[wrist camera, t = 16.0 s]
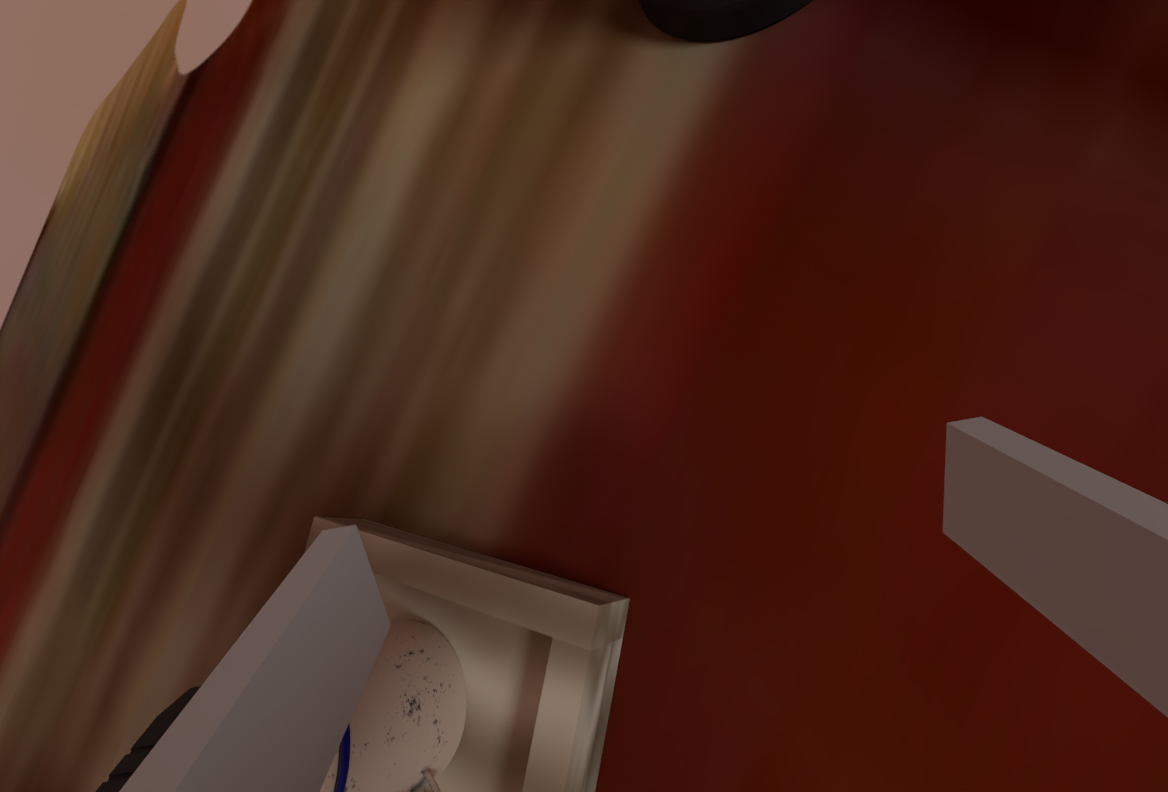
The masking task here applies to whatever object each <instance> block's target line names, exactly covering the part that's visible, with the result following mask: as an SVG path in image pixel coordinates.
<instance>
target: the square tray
mask: <svg viewBox="0 0 1168 792" xmlns="http://www.w3.org/2000/svg"><path fill="white" fill-rule="evenodd" d="M351 525H356V526H357V529H358V532H359V535H360V537H361V540H362V543H363V546H364V549H365V552H366V555H367V558H368V561H369V563H370V566H371V569H372V572H373V575H374V578H375V581H376V584H377V586H378V589H379V592H380V595H381V598H382V601H383V604H384V607H385V610H386V612H387V615H388V618H389V621H391V620H397V619H415V620H420V621H422V622H425V623H427V624H429V625H431V626H432V627H434V628H435V629H436V630H438V631H439V632H440V633H441V634H442V635H443V636H444V637H445V638H446V640H447V641H448V642H449V643H450V645H451V647H452V648H453V650H454V652H455V654H456V656H457V658H458V660H459V663H460V665H461V668H462V672H463V676H464V680H465V686H466V696H467V708H466V719H465V725H464V730H463V734H462V737H461V741H460V743H459V746H458V748H457V750H456V752H455V754H454V756H453V758H452V760H451V761H450V763H449V764H448V766H447V767H446V768H445V769H444V771H443V772H442V773H441V774H440V775H439V776H438V777H436V778H435V781H436V783H437V784H438V786H439V788H440V791H441V792H595V789H596V784H597V778H598V772H599V767H600V761H601V756H602V750H603V745H604V739H605V734H606V728H607V723H608V717H609V711H610V706H611V700H612V695H613V689H614V684H615V678H616V673H617V667H618V661H619V656H620V650H621V645H622V639H623V634H624V628H625V623H626V617H627V612H628V606H629V600H630V598H628V597H625V596H621V595H618V594H615V593H611V592H608V591H604V590H601V589H598V588H594V587H591V586H588V585H584V584H581V583H578V582H574V581H571V580H567V579H564V578H561V577H557V576H554V575H551V574H547V573H544V572H541V571H537V570H534V569H531V568H527V567H524V566H520V565H517V564H514V563H510V562H507V561H504V560H500V559H497V558H494V557H490V556H487V555H483V554H480V553H477V552H473V551H470V550H467V549H463V548H460V547H457V546H453V545H450V544H446V543H443V542H440V541H436V540H433V539H430V538H426V537H423V536H420V535H416V534H413V533H410V532H406V531H403V530H399V529H396V528H393V527H389V526H386V525H383V524H379V523H376V522H373V521H369V520H366V519H355V518H335V517H315V516H314V519H313V523H312V527H311V530H310V534H309V537H308V541H307V545H306V548H305V552H306V551H307V550H308V548H309V547H310V546H311V544H312V543H313V542H314V541H315V539H316V538H317V537H318V535H319V534H320V533H321V532H322V530H328V529H334V528H340V527H345V526H351ZM305 552H304V553H305Z"/></svg>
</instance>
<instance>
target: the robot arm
mask: <svg viewBox="0 0 1168 792" xmlns="http://www.w3.org/2000/svg"><path fill="white" fill-rule="evenodd" d="M810 1H811V0H639V2H640V4H641V7H642V9H643V11H644V13H645V14H646V16H647V17H648V19H649V20H650V21H651V22H652V23H653V24H654V25H655V26H657V27H658V28H659V29H661V30H662V31H664V32H666V33H668V34H670V35H673V36H676V37H679V38H683V39H688V40H700V41H708V40H720V39H726V38H732V37H736V36H740V35H744V34H747V33H750V32H753V31H756V30H759V29H761V28H764V27H766V26H768V25H771V24H773V23H775V22H777V21H779V20H781V19H783V18H785V17H786V16H788V15H790V14H792V13H793V12H795V11H797V10H798V9H800V8H801V7H803V6H804V5H806V4H807V3H808V2H810ZM943 533H945V534H946V535H947V536H948V537H949V538H951V539H952V540H953V541H954V542H955V543H957V544H958V545H959V546H960V547H962V548H963V549H964V550H965V551H966V552H968V553H969V554H970V555H971V556H972V557H974V558H975V559H976V560H977V561H979V562H980V563H981V564H982V565H983V566H985V567H986V568H987V569H988V570H989V571H991V572H992V573H993V574H994V575H996V576H997V577H998V578H999V579H1000V580H1002V581H1003V582H1004V583H1005V584H1006V585H1008V586H1009V587H1010V588H1011V589H1013V590H1014V591H1015V592H1016V593H1017V594H1019V595H1020V596H1021V597H1022V598H1023V599H1025V600H1026V601H1027V602H1028V603H1030V604H1031V605H1032V606H1033V607H1034V608H1036V609H1037V610H1038V611H1039V612H1040V613H1042V614H1043V615H1044V616H1045V617H1047V618H1048V619H1049V620H1050V621H1051V622H1053V623H1054V624H1055V625H1056V626H1057V627H1059V628H1060V629H1061V630H1062V631H1064V632H1065V633H1066V634H1067V635H1068V636H1070V637H1071V638H1072V639H1073V640H1074V641H1076V642H1077V643H1078V644H1079V645H1081V646H1082V647H1083V648H1084V649H1085V650H1087V651H1088V652H1089V653H1090V654H1091V655H1093V656H1094V657H1095V658H1096V659H1098V660H1099V661H1100V662H1101V663H1102V664H1104V665H1105V666H1106V667H1107V668H1108V669H1110V670H1111V671H1112V672H1113V673H1115V674H1116V675H1117V676H1118V677H1119V678H1121V679H1122V680H1123V681H1124V682H1125V683H1127V684H1128V685H1129V686H1130V687H1132V688H1133V689H1134V690H1135V691H1136V692H1138V693H1139V694H1140V695H1141V696H1142V697H1144V698H1145V699H1146V700H1147V701H1149V702H1150V703H1151V704H1152V705H1153V706H1155V707H1156V708H1157V709H1158V710H1159V711H1161V712H1162V713H1163V714H1164V715H1166V716H1167V717H1168V504H1166V503H1164V502H1162V501H1160V500H1158V499H1156V498H1154V497H1152V496H1149V495H1147V494H1145V493H1143V492H1141V491H1139V490H1137V489H1135V488H1132V487H1130V486H1128V485H1126V484H1124V483H1122V482H1120V481H1118V480H1115V479H1113V478H1111V477H1109V476H1107V475H1105V474H1103V473H1101V472H1098V471H1096V470H1094V469H1092V468H1090V467H1088V466H1086V465H1084V464H1081V463H1079V462H1077V461H1075V460H1073V459H1071V458H1069V457H1067V456H1064V455H1062V454H1060V453H1058V452H1056V451H1054V450H1052V449H1050V448H1047V447H1045V446H1043V445H1041V444H1039V443H1037V442H1035V441H1033V440H1030V439H1028V438H1026V437H1024V436H1022V435H1020V434H1018V433H1015V432H1013V431H1011V430H1009V429H1007V428H1005V427H1003V426H1001V425H998V424H996V423H994V422H992V421H990V420H988V419H986V418H984V417H978V418H972V419H966V420H961V421H955V422H949V423H947V433H946V460H945V486H944V513H943ZM390 626H391V624H390V621H389V618H388V615H387V612H386V610H385V607H384V604H383V601H382V598H381V595H380V592H379V589H378V586H377V584H376V581H375V578H374V575H373V572H372V569H371V566H370V563H369V561H368V558H367V555H366V552H365V549H364V546H363V543H362V540H361V537H360V535H359V532H358V529H357V526H356V525H351V526H345V527H340V528H334V529H328V530H322V532H321V533H320V534H319V535H318V537H317V538H316V539H315V541H314V542H313V543H312V544H311V546H310V547H309V548H308V550H307V551H306V552H305V553H304V555H303V556H302V557H301V559H300V560H299V561H298V562H297V564H296V565H295V566H294V568H293V569H292V570H291V571H290V573H289V574H288V575H287V577H286V578H285V579H284V580H283V582H282V583H281V584H280V586H279V587H278V588H277V589H276V591H275V592H274V593H273V595H272V596H271V597H270V598H269V600H268V601H267V602H266V604H265V605H264V606H263V607H262V609H261V610H260V611H259V613H258V614H257V615H256V616H255V618H254V619H253V620H252V622H251V623H250V624H249V625H248V627H247V628H246V629H245V631H244V632H243V633H242V634H241V636H240V637H239V638H238V640H237V641H236V642H235V643H234V645H233V646H232V647H231V649H230V650H229V651H228V652H227V654H226V655H225V656H224V658H223V659H222V660H221V661H220V663H219V664H218V665H217V667H216V668H215V669H214V670H213V672H212V673H211V674H210V676H209V677H208V678H207V679H206V681H205V682H204V683H203V685H202V686H200V687H194V688H190V689H189V690H188V691H187V692H185V693H184V694H183V695H182V696H181V697H180V698H178V699H177V700H176V701H175V702H174V703H173V704H171V705H170V706H169V707H168V708H167V709H165V710H164V711H163V712H162V713H161V714H160V715H158V716H157V717H156V719H155V720H154V721H153V722H152V723H151V725H150V726H149V727H148V728H147V729H146V731H145V732H144V733H143V734H142V736H141V737H140V738H139V739H138V740H137V742H136V743H135V744H134V745H133V747H132V748H131V753H130V754H128V755H125V756H124V758H123V759H122V760H121V761H120V762H119V764H118V765H117V766H116V767H115V769H114V770H113V771H112V772H111V773H110V775H109V780H108V782H104V783H102V784H101V786H100V787H99V788H98V789H97V791H96V792H320V790H321V787H322V785H323V783H324V780H325V778H326V776H327V773H328V771H329V769H330V766H331V764H332V762H333V759H334V757H335V754H336V752H337V750H338V747H339V745H340V743H341V740H342V738H343V736H344V733H345V731H346V729H347V726H348V724H349V722H350V719H351V717H352V715H353V712H354V710H355V708H356V705H357V703H358V701H359V698H360V696H361V694H362V691H363V689H364V687H365V684H366V682H367V680H368V677H369V675H370V673H371V670H372V668H373V666H374V663H375V661H376V659H377V656H378V654H379V652H380V649H381V647H382V645H383V642H384V640H385V638H386V635H387V633H388V631H389V628H390Z"/></svg>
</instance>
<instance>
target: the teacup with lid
mask: <svg viewBox="0 0 1168 792" xmlns="http://www.w3.org/2000/svg"><path fill="white" fill-rule="evenodd" d="M390 624H391V626H390V628H389V631H388V633H387V635H386V638H385V640H384V642H383V645H382V647H381V649H380V652H379V654H378V656H377V659H376V661H375V663H374V666H373V668H372V670H371V673H370V675H369V677H368V680H367V682H366V684H365V687H364V689H363V691H362V694H361V696H360V698H359V701H358V703H357V705H356V708H355V710H354V712H353V715H352V717H351V719H350V722H349V724H348V726H347V729H346V731H345V733H344V736H343V738H342V740H341V743H340V745H339V747H338V750H337V752H336V754H335V757H334V759H333V762H332V764H331V766H330V769H329V771H328V773H327V776H326V778H325V780H324V783H323V785H322V787H321V790H320V792H441V791H440V788H439V786H438V784H437V783H436V781H435V778H436V777H438V776H439V775H440V774H441V773H442V772H443V771H444V769H445V768H446V767H447V766H448V764H449V763H450V761H451V760H452V758H453V756H454V754H455V752H456V750H457V748H458V746H459V743H460V741H461V737H462V734H463V730H464V725H465V719H466V708H467V696H466V686H465V680H464V676H463V672H462V668H461V665H460V663H459V660H458V658H457V656H456V654H455V652H454V650H453V648H452V647H451V645H450V643H449V642H448V641H447V640H446V638H445V637H444V636H443V635H442V634H441V633H440V632H439V631H438V630H436V629H435V628H434V627H432V626H431V625H429V624H427V623H425V622H422V621H420V620H415V619H397V620H391V621H390Z"/></svg>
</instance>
